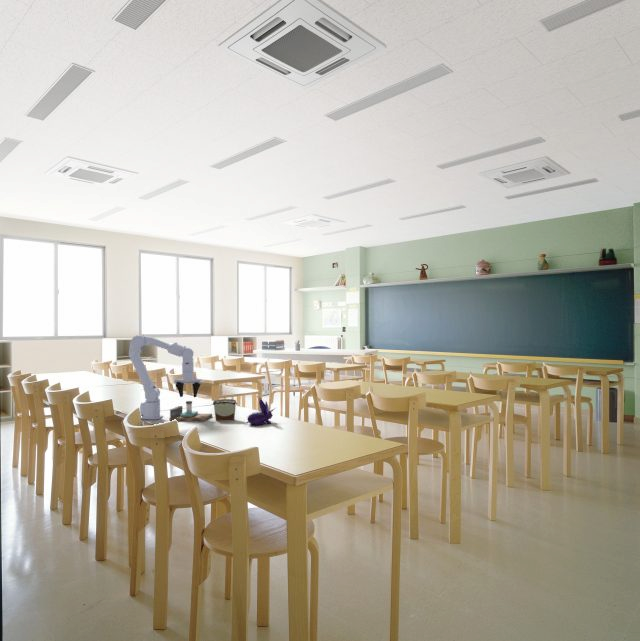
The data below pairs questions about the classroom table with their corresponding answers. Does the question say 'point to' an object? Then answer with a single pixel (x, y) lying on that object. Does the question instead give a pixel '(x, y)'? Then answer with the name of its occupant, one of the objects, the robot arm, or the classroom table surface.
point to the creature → (261, 415)
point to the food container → (225, 409)
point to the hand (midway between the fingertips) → (188, 396)
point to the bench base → (198, 417)
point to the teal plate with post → (189, 410)
